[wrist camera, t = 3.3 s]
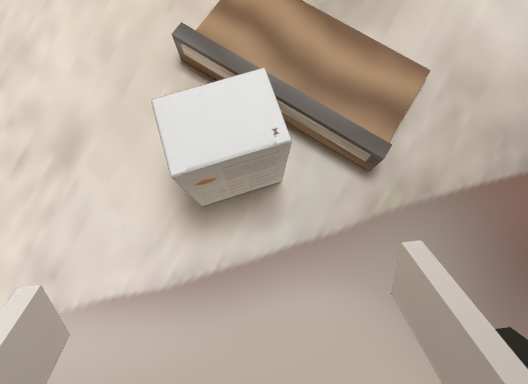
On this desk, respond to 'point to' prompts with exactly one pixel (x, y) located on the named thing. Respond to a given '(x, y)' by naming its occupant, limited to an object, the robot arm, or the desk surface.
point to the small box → (224, 136)
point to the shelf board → (310, 71)
